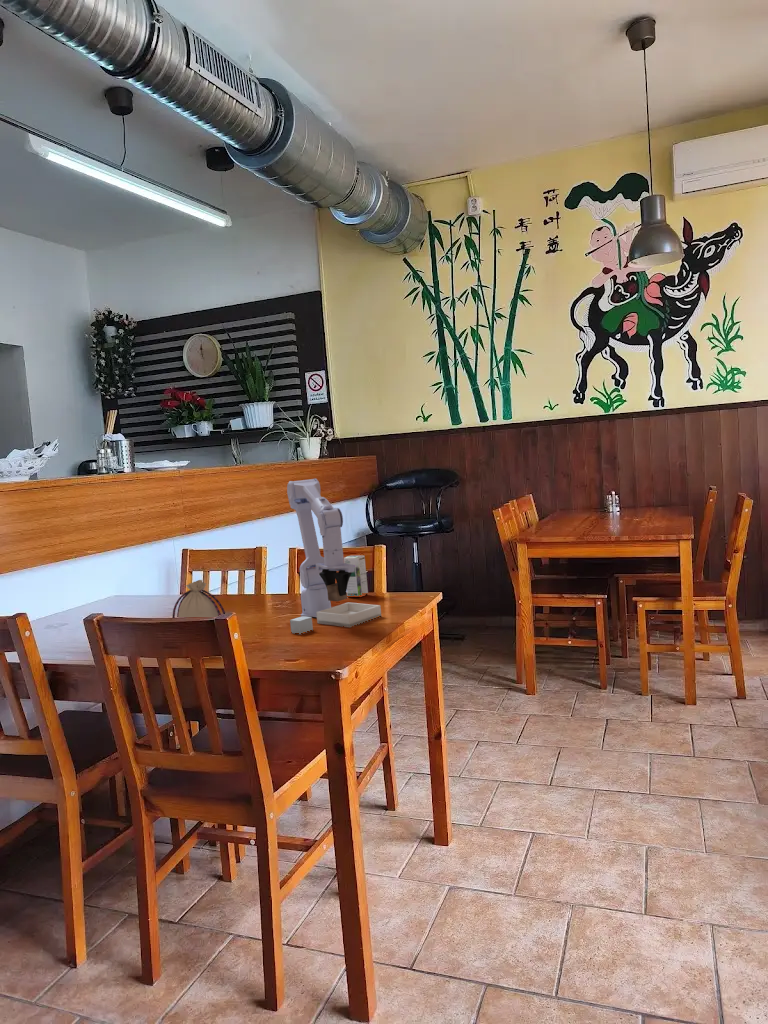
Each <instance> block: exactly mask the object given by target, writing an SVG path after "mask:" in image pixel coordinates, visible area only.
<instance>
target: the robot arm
mask: <svg viewBox="0 0 768 1024" xmlns="http://www.w3.org/2000/svg"><path fill="white" fill-rule="evenodd" d="M286 486H287V487H286V489H287V490H286V493H287V499H288V503H289V506H290V509H293V510H295V514H296V515H297V520H298V525H299V530H300V535H301V539H302V544H303V548H304V549H303V551H304V555H305V560H304V561H302V563H301V564H300V566H299V578H300V583H301V586H302V587H303V589H302V590H301V593H300V602H301V603H300V604H301V610H302V612H301V613H300V617H302V616H306V617H312V618H317V615H316V612H318V611H321V610H325V609H328V608H331V607H332V604H331V602H332V601H328V592H327V586H328V585H331V584H335V583H337V585H338V591H339V595H340V596H343V595H346V592H347V585H348V581H349V578H350V576H351V574H352V572H354V571H355V569H354V565H351V564H346V563H344V558H345V557H344V551H343V548H344V547H343V539H342V529H341V528H342V527H343V525H344V524H343V523H344V518H343V513H342V510H341V509H340V507H334V506H333V505H332V503H330V501H329V500H328V499H327V498H326V497H325V496H321V491H322V490H321V484H320V481H319V480H318V479H317V478H311V479H303V480H301V479H300V480H294V481H293V480H289V481H288V483H287V485H286ZM313 514H314V515H315V516H316V519H317V525H318V528H319V533H320V536H321V537H322V538H321V539H322V550H323V556H322V555H321V550H320V546H319V542H318V541H319V540H318V537H317V532H316V527H315V522H314V517H313Z"/></svg>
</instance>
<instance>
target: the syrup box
mask: <svg viewBox="0 0 768 1024" xmlns="http://www.w3.org/2000/svg"><path fill="white" fill-rule="evenodd" d="M343 558H344V563H346V564H351V565H354V569H355V571H354V572H352V574H351V576H350V578H349V581H348V585H347V591H346V592H347V596H354V595H355V596H359V595H362V593H368V594H369V589H368V580H367V579H368V577H367V568H366V558H365V555H348V556H344V557H343ZM351 594H352V595H351Z"/></svg>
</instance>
